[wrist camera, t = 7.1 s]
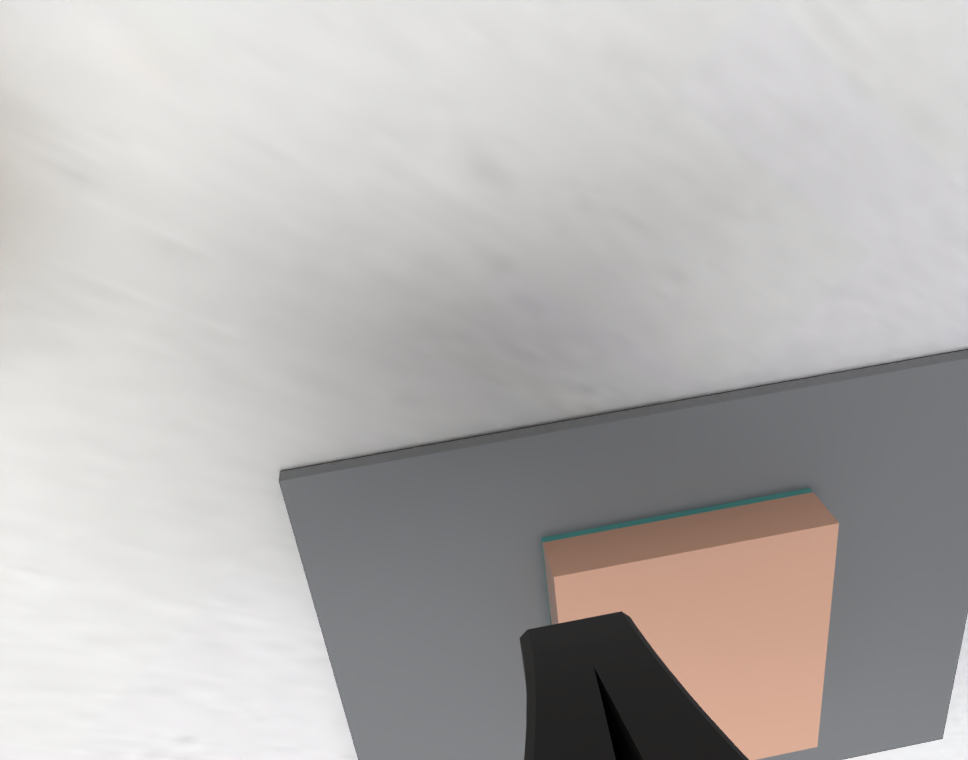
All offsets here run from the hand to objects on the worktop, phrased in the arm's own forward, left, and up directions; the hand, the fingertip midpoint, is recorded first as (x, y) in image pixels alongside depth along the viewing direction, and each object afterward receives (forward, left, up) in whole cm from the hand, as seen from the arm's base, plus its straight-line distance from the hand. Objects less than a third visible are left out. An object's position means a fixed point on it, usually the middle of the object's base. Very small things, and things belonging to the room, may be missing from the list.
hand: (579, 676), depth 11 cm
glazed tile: (-1, +9, -8) cm, 12 cm away
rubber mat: (-4, +9, -9) cm, 14 cm away
